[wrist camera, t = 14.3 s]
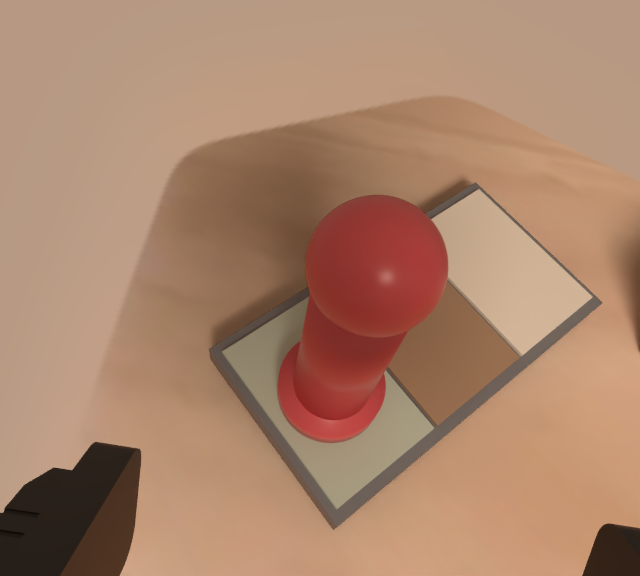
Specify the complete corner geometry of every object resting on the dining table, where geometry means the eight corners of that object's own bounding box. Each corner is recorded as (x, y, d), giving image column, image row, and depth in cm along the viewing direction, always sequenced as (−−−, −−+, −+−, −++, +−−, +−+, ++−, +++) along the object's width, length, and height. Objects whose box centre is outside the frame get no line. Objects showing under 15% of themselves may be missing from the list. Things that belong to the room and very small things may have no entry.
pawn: (337, 325, 26) (398, 131, 15) (400, 402, 24) (518, 246, 14) (256, 379, 24) (262, 204, 13) (320, 465, 23) (382, 344, 12)
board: (468, 196, 32) (476, 179, 31) (590, 313, 29) (605, 300, 28) (210, 359, 26) (208, 347, 25) (333, 530, 23) (338, 525, 22)
